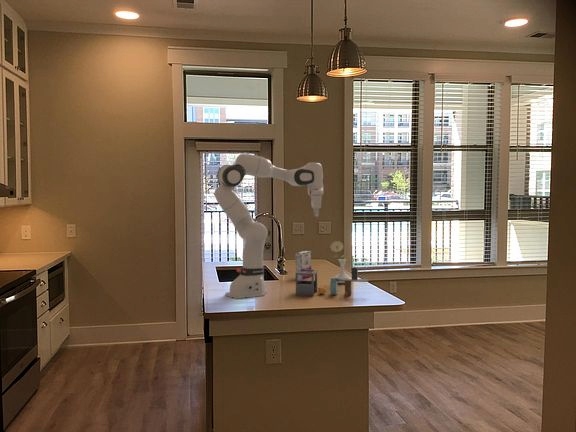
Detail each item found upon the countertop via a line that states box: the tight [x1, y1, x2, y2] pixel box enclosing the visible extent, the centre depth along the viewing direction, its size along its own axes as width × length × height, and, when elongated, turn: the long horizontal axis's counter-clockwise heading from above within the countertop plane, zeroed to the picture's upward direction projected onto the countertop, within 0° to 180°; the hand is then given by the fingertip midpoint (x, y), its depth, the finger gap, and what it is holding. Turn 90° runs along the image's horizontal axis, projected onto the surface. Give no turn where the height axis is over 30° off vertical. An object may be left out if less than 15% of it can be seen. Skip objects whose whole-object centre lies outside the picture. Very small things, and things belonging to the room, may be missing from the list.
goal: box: [295, 269, 318, 297], centre depth 269 cm, size 10×12×12 cm
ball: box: [317, 286, 327, 295], centre depth 267 cm, size 4×4×4 cm
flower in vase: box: [329, 240, 352, 284], centre depth 298 cm, size 13×11×25 cm
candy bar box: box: [294, 250, 313, 280], centre depth 317 cm, size 11×5×16 cm, turn 143°
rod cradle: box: [344, 280, 352, 297], centre depth 264 cm, size 3×5×8 cm, turn 168°
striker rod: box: [329, 266, 369, 295], centre depth 264 cm, size 20×6×14 cm, turn 78°
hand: (316, 216), depth 279 cm, fingers open, 8 cm apart
